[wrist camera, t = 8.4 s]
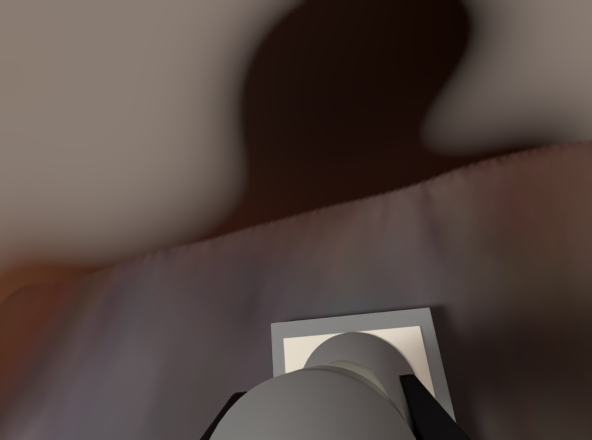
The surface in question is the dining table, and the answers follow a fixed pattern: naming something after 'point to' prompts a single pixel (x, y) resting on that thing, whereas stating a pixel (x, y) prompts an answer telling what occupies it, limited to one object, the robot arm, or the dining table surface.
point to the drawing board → (367, 348)
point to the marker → (316, 407)
